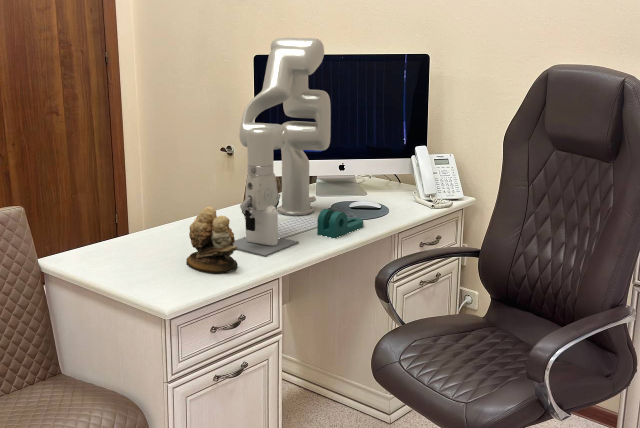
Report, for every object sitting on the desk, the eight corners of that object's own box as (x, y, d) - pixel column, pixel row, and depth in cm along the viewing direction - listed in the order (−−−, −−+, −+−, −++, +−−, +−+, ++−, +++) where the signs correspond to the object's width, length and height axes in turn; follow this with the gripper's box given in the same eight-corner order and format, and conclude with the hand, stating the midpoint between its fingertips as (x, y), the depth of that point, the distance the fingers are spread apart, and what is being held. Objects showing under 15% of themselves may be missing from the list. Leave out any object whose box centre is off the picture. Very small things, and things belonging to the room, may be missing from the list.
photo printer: (243, 242, 222) (242, 202, 219) (251, 238, 225) (250, 199, 222) (272, 247, 217) (272, 206, 214) (280, 243, 221) (280, 203, 218)
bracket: (334, 239, 228) (334, 214, 226) (317, 235, 232) (317, 211, 230) (367, 226, 242) (367, 203, 240) (350, 223, 246) (350, 200, 244)
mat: (257, 234, 232) (257, 232, 232) (298, 243, 223) (298, 241, 223) (223, 246, 219) (223, 244, 219) (265, 257, 210) (265, 255, 210)
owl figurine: (251, 268, 202) (250, 208, 197) (218, 279, 193) (216, 217, 189) (208, 253, 213) (206, 196, 209) (175, 263, 205) (172, 204, 200)
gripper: (251, 177, 206) (252, 235, 211) (288, 167, 220) (288, 222, 224) (231, 173, 210) (232, 231, 215) (269, 164, 224) (269, 218, 228)
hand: (261, 226), depth 220 cm, fingers open, 9 cm apart
